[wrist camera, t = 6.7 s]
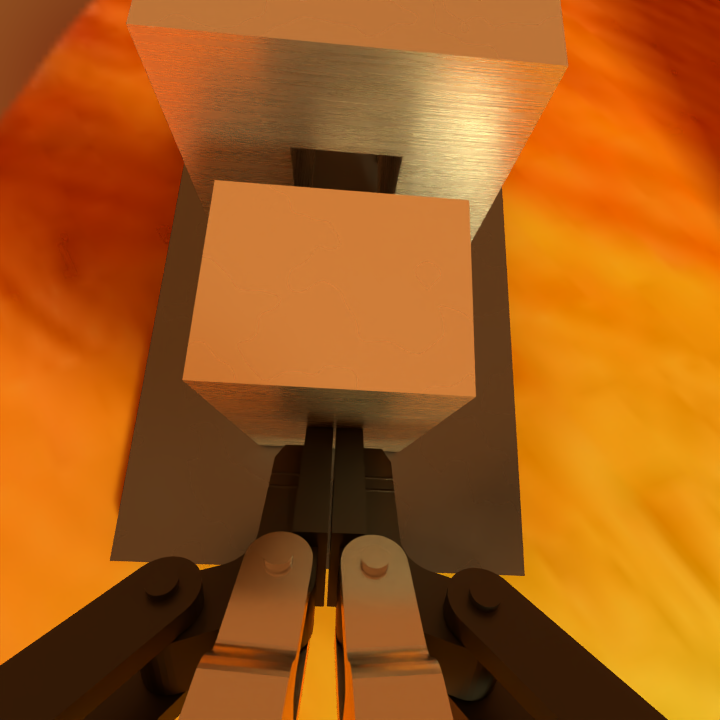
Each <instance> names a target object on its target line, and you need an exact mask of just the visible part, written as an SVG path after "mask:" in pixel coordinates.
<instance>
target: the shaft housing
mask: <svg viewBox="0 0 720 720" xmlns="http://www.w3.org/2000/svg"><path fill="white" fill-rule="evenodd" d="M126 25H127V27H128V30H129V32H130V34H131V37H132V39H133V42H134V44H135V46H136V49H137V51H138V53H139V56H140V58H141V61H142V63H143V65H144V68H145V70H146V73H147V75H148V77H149V80H150V82H151V84H152V87H153V89H154V92H155V94H156V96H157V99H158V101H159V104H160V106H161V108H162V111H163V113H164V115H165V118H166V120H167V123H168V125H169V127H170V130H171V132H172V135H173V137H174V139H175V142H176V144H177V146H178V149H179V151H180V154H181V156H182V158H183V161H184V167H183V173H182V178H181V183H180V189H179V194H178V199H177V205H176V210H175V215H174V221H173V226H172V231H171V237H170V242H169V247H168V253H167V258H166V263H165V269H164V274H163V279H162V285H161V290H160V295H159V301H158V306H157V311H156V317H155V322H154V328H153V333H152V338H151V344H150V349H149V354H148V360H147V365H146V370H145V376H144V381H143V386H142V392H141V397H140V402H139V408H138V413H137V418H136V424H135V429H134V434H133V440H132V445H131V450H130V456H129V461H128V466H127V472H126V477H125V482H124V488H123V493H122V499H121V504H120V509H119V515H118V520H117V525H116V531H115V536H114V541H113V547H112V552H111V557H110V561H133V562H151V561H153V560H156V559H159V558H163V557H170V556H176V557H183V558H186V559H188V560H191V561H192V562H193V563H195V564H215V565H223V564H226V563H229V562H231V561H234V560H236V559H237V558H239V557H241V556H242V555H243V554H244V553H246V550H247V549H248V547H249V546H250V545H251V544H252V543H253V542H254V541H255V540H256V538H257V535H258V531H259V526H260V522H261V517H262V513H263V508H264V504H265V499H266V494H267V490H268V487H269V481H270V476H271V472H272V467H273V463H274V458H275V456H276V455H277V454H278V453H279V452H280V450H281V449H282V448H283V447H284V446H272V445H258V444H257V443H256V442H255V441H253V440H252V439H251V438H250V437H249V436H247V435H246V434H245V433H244V432H243V431H242V430H240V429H239V428H238V427H237V426H236V425H235V424H233V423H232V422H231V421H230V420H229V419H228V418H226V417H225V416H224V415H223V414H222V413H220V412H219V411H218V410H217V409H216V408H215V407H213V406H212V405H211V404H210V403H209V402H208V401H206V400H205V399H204V398H203V397H202V396H200V395H199V394H198V393H197V392H196V391H195V390H193V389H192V388H191V387H190V386H189V385H188V384H186V383H185V382H184V381H183V380H182V379H183V373H184V367H185V361H186V355H187V348H188V342H189V336H190V330H191V324H192V317H193V311H194V305H195V299H196V293H197V286H198V280H199V274H200V268H201V262H202V255H203V249H204V243H205V237H206V231H207V224H208V218H209V212H210V206H211V200H212V193H213V187H214V181H215V180H220V181H233V182H245V183H258V184H270V185H283V186H296V187H308V188H312V183H313V172H314V160H315V149H316V150H328V151H340V152H352V153H364V154H376V155H378V177H377V193H384V194H397V195H410V196H422V197H435V198H448V199H460V200H469V206H470V236H471V266H472V296H473V326H474V355H475V385H476V397H475V398H473V399H472V400H471V401H469V402H468V403H466V404H465V405H464V406H462V407H461V408H459V409H458V410H457V411H455V412H454V413H453V414H451V415H450V416H448V417H447V418H446V419H444V420H443V421H441V422H440V423H439V424H437V425H436V426H434V427H433V428H432V429H430V430H429V431H427V432H426V433H425V434H423V435H422V436H421V437H419V438H418V439H416V440H415V441H414V442H412V443H411V444H409V445H408V446H407V447H405V448H404V449H402V450H401V451H400V452H392V451H384V453H385V454H386V456H387V457H388V459H389V460H390V461H391V467H392V475H393V484H394V493H395V501H396V509H397V517H398V526H399V534H400V541H401V545H402V547H403V549H404V551H405V553H406V554H407V555H408V556H409V558H410V559H411V560H412V561H414V562H415V563H416V564H417V565H419V566H420V567H422V568H424V569H426V570H429V571H431V572H434V573H457V572H459V571H461V570H464V569H467V568H481V569H485V570H489V571H491V572H493V573H495V574H497V575H516V576H525V574H524V557H523V540H522V523H521V505H520V488H519V471H518V454H517V437H516V420H515V403H514V386H513V369H512V352H511V335H510V318H509V301H508V283H507V266H506V249H505V232H504V215H503V198H502V185H503V183H504V182H505V180H506V178H507V176H508V174H509V173H510V171H511V169H512V167H513V165H514V163H515V162H516V160H517V158H518V156H519V154H520V153H521V151H522V149H523V147H524V145H525V143H526V142H527V140H528V138H529V136H530V134H531V133H532V131H533V129H534V127H535V125H536V123H537V122H538V120H539V118H540V116H541V114H542V113H543V111H544V109H545V107H546V105H547V103H548V102H549V100H550V98H551V96H552V94H553V93H554V91H555V89H556V87H557V85H558V84H559V82H560V80H561V78H562V76H563V74H564V73H565V71H566V69H567V67H568V61H567V52H566V44H565V36H564V27H563V19H562V11H561V2H560V0H132V3H131V7H130V11H129V15H128V18H127V22H126ZM334 456H335V449H332V466H331V485H330V504H329V522H328V540H327V558H326V569H329V554H330V533H331V512H332V491H333V473H334Z"/></svg>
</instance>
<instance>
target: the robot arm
mask: <svg viewBox="0 0 720 720" xmlns="http://www.w3.org/2000/svg"><path fill="white" fill-rule="evenodd" d="M332 447H333V428H331V427H311V426H307V428H306V435H305V442H304V445H288V444H286V445H285V446H284V447H283V448H282V449H281V450H280V452H279V453H278V454H277V455H276V456H275V458H274V463H273V467H272V472H271V476H270V481H269V487H268V490H267V494H266V499H265V504H264V508H263V513H262V517H261V522H260V526H259V531H258V535H257V538H256V540H255V541H254V542H253V543H252V544H251V545H250V546H249V547H248V549H247V550H246V553H244V554H243V555H242V556H241V557H239V558H237V559H236V560H234V561H231V562H229V563H226V564H223V565H220V566H216V567H212V568H208V569H204V570H199V568H198V567H197V566H196V564H195V563H193V562H192V561H191V560H188V559H186V558H183V557H176V556H170V557H163V558H159V559H156V560H153V561H151V562H149V563H147V564H146V565H144V566H142V567H141V568H139V569H138V570H137V571H135V572H134V573H132V574H131V575H129V576H128V577H126V578H125V579H124V580H122V581H121V582H119V583H118V584H116V585H115V586H114V587H112V588H111V589H109V590H108V591H106V592H105V593H104V594H102V595H101V596H99V597H98V598H96V599H95V600H94V601H92V602H91V603H89V604H88V605H86V606H85V607H84V608H82V609H81V610H79V611H78V612H76V613H75V614H73V615H72V616H71V617H69V618H68V619H66V620H65V621H63V622H62V623H61V624H59V625H58V626H56V627H55V628H53V629H52V630H51V631H49V632H48V633H46V634H45V635H43V636H42V637H41V638H39V639H38V640H36V641H35V642H33V643H32V644H30V645H29V646H28V647H26V648H25V649H23V650H22V651H20V652H19V653H18V654H16V655H15V656H13V657H12V658H10V659H9V660H8V661H6V662H5V663H3V664H2V665H0V720H175V719H176V718H177V717H178V716H179V715H180V717H179V720H298V716H299V710H300V703H301V696H302V690H303V683H304V677H305V670H306V663H307V657H308V650H309V643H310V638H311V635H312V632H313V624H314V611H315V606H324V592H325V575H326V558H327V540H328V522H329V504H330V485H331V466H332ZM327 606H331V607H336V627H335V640H334V649H335V672H336V695H337V718H338V720H668V719H666V718H665V717H664V716H663V715H662V714H661V713H659V712H658V711H657V710H656V709H655V708H654V707H652V706H651V705H650V704H649V703H648V702H647V701H645V700H644V699H643V698H642V697H641V696H640V695H638V694H637V693H636V692H635V691H634V690H633V689H631V688H630V687H629V686H628V685H627V684H626V683H624V682H623V681H622V680H621V679H620V678H619V677H617V676H616V675H615V674H614V673H613V672H612V671H610V670H609V669H608V668H607V667H606V666H605V665H603V664H602V663H601V662H600V661H599V660H598V659H596V658H595V657H594V656H593V655H592V654H591V653H589V652H588V651H587V650H586V649H585V648H584V647H582V646H581V645H580V644H579V643H578V642H577V641H575V640H574V639H573V638H572V637H571V636H570V635H568V634H567V633H566V632H565V631H564V630H563V629H561V628H560V627H559V626H558V625H557V624H556V623H554V622H553V621H552V620H551V619H550V618H549V617H547V616H546V615H545V614H544V613H543V612H542V611H540V610H539V609H538V608H537V607H536V606H535V605H533V604H532V603H531V602H530V601H529V600H528V599H526V598H525V597H524V596H523V595H522V594H521V593H519V592H518V591H517V590H516V589H515V588H514V587H512V586H511V585H510V584H509V583H508V582H507V581H505V580H504V579H503V578H502V577H500V576H499V575H497V574H495V573H493V572H491V571H489V570H485V569H481V568H467V569H464V570H461V571H459V572H457V573H456V574H455V575H454V576H453V577H452V578H449V577H446V576H443V575H440V574H437V573H434V572H431V571H429V570H426V569H424V568H422V567H420V566H419V565H417V564H416V563H415V562H414V561H412V560H411V559H410V558H409V556H408V555H407V554H406V553H405V551H404V549H403V547H402V545H401V541H400V534H399V526H398V517H397V509H396V501H395V493H394V484H393V475H392V467H391V461H390V460H389V459H388V457H387V456H386V454H385V453H384V451H383V450H382V449H376V448H364V441H363V429H354V428H336V440H335V456H334V473H333V491H332V512H331V533H330V554H329V575H328V597H327Z"/></svg>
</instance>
